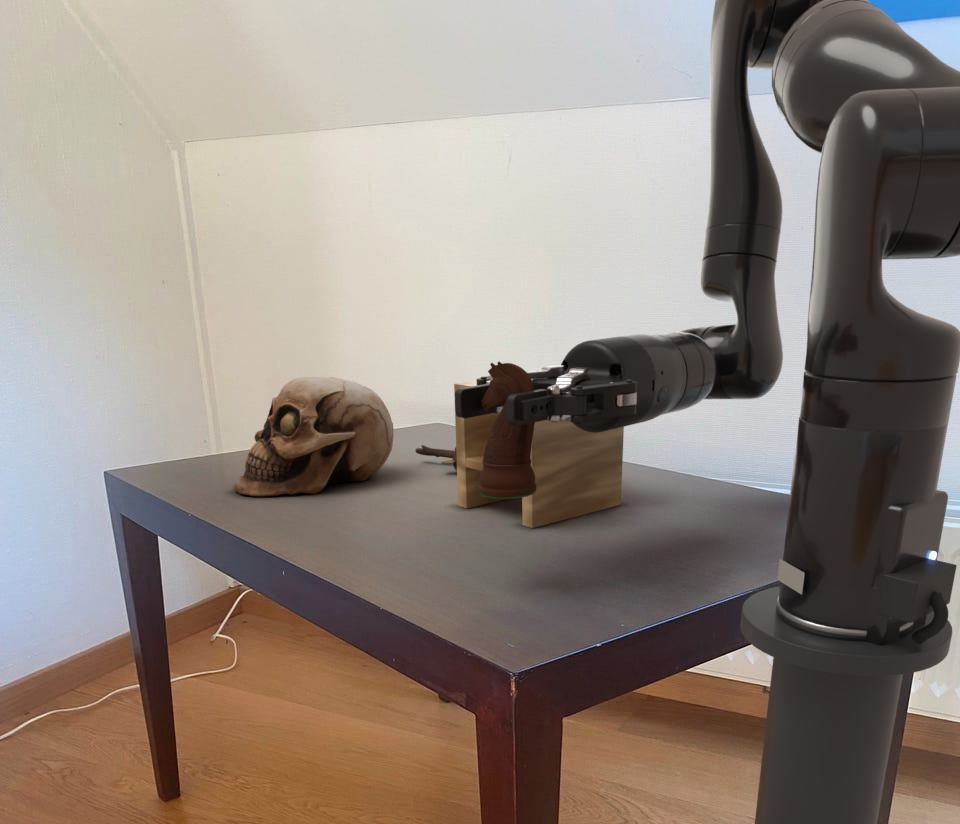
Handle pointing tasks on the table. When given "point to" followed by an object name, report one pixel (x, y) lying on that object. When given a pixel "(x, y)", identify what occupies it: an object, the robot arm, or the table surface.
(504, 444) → the chess piece
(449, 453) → the tree branch
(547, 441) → the stand
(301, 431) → the tan skull
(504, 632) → the table surface
